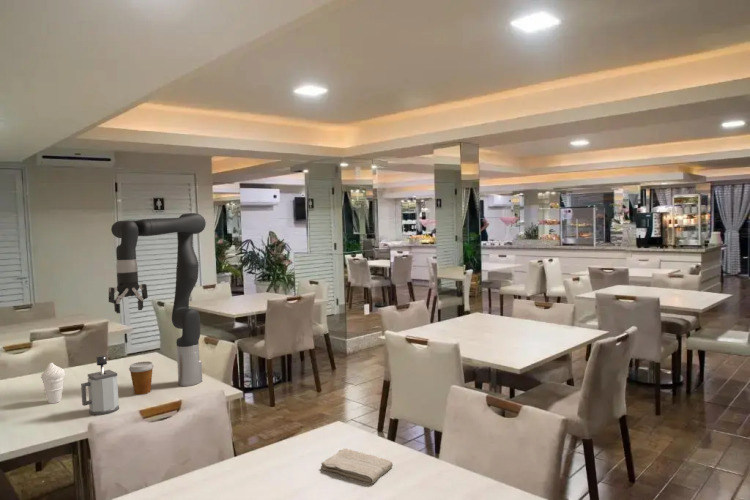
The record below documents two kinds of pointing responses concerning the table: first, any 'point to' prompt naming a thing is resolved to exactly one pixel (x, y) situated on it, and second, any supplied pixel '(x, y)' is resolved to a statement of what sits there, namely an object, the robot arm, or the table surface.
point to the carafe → (101, 393)
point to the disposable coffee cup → (141, 377)
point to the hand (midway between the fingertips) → (129, 311)
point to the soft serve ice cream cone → (53, 382)
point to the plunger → (101, 362)
